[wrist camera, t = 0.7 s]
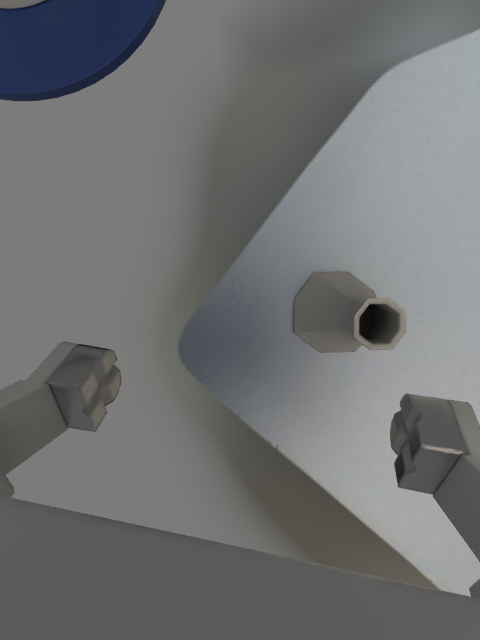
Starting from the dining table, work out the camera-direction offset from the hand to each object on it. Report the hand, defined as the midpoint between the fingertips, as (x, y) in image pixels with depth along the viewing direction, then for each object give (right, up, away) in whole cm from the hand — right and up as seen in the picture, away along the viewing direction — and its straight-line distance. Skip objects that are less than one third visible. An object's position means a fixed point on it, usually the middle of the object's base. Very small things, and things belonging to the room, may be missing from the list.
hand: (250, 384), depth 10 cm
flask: (+8, +3, +21) cm, 22 cm away
